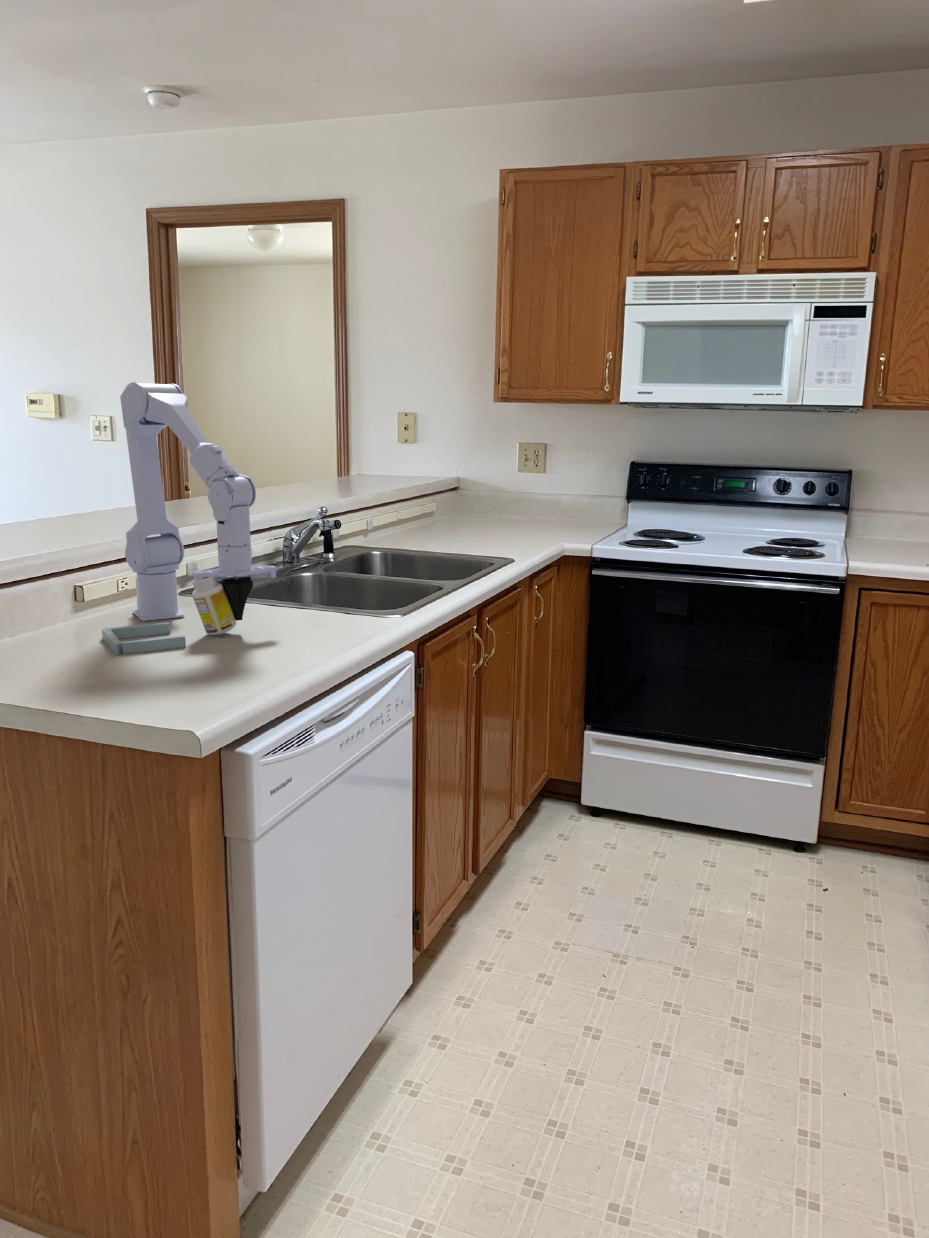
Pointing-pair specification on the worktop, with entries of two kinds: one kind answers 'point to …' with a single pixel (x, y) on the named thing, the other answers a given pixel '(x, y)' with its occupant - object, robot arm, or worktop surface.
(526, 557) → the worktop surface
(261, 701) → the worktop surface
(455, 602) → the worktop surface
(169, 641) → the tray
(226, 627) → the supplement bottle
